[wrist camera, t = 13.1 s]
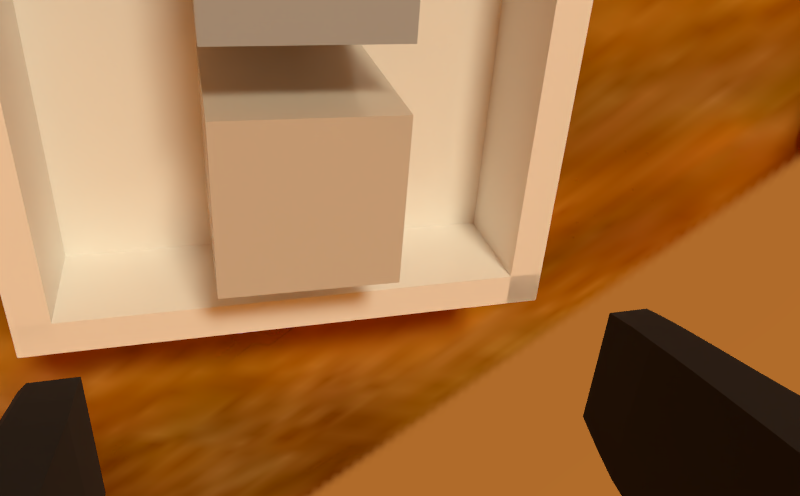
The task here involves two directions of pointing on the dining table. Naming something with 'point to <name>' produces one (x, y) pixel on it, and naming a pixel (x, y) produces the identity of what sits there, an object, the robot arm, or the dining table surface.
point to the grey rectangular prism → (305, 22)
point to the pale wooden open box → (186, 181)
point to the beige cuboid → (302, 168)
